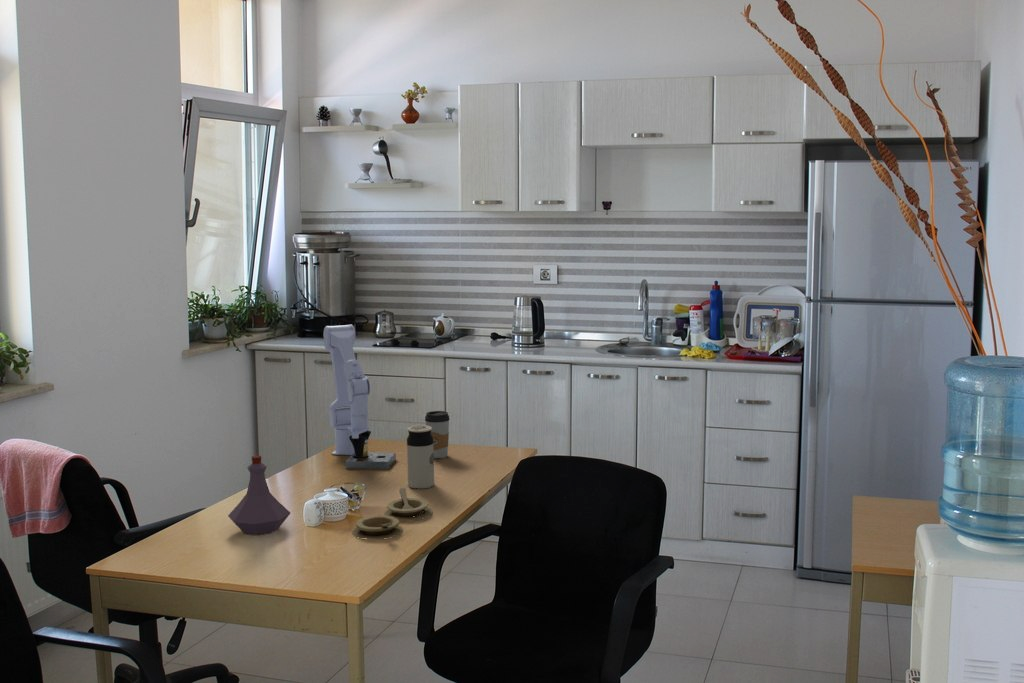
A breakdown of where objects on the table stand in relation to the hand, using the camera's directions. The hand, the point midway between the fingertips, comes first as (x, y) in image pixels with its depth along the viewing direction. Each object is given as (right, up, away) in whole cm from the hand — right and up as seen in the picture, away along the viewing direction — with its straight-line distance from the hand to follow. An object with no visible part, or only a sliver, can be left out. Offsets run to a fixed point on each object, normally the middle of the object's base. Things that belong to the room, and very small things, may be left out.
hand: (360, 454), depth 339 cm
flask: (-17, -13, -65) cm, 69 cm away
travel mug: (+22, -7, -26) cm, 35 cm away
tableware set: (+18, -13, -61) cm, 64 cm away
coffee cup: (+25, -2, +9) cm, 26 cm away
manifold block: (+3, -3, 0) cm, 5 cm away
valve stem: (0, -2, 0) cm, 2 cm away
